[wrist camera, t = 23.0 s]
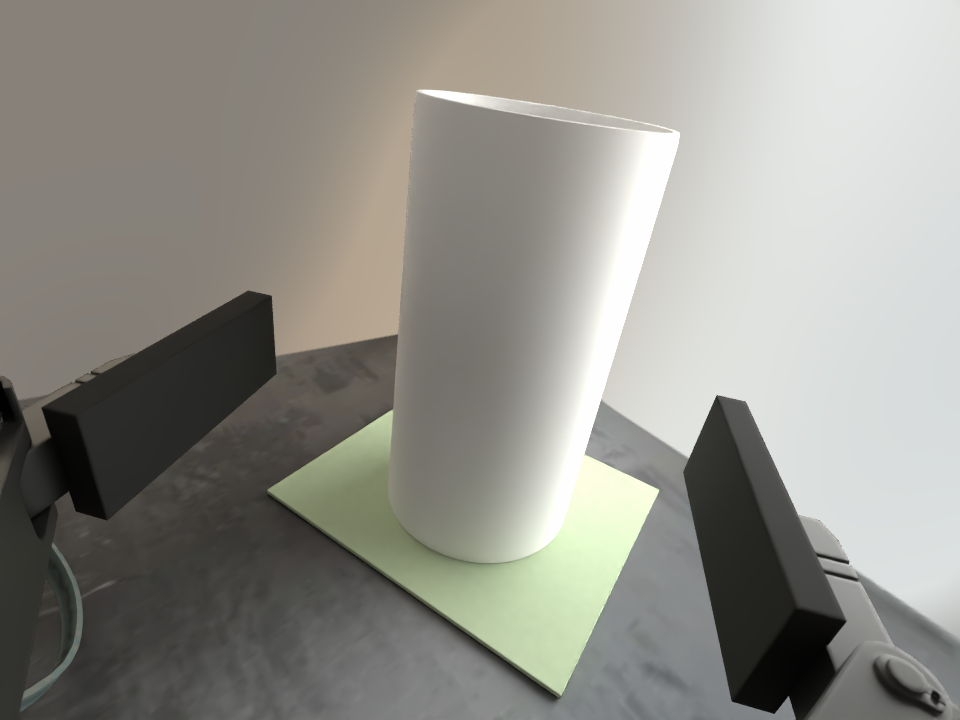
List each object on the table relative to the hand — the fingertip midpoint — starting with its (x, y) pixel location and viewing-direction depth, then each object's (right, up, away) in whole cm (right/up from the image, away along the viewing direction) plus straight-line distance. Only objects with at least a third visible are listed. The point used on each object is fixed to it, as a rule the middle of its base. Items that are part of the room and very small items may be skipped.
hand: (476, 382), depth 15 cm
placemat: (0, -5, +9) cm, 10 cm away
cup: (0, -5, +9) cm, 10 cm away
